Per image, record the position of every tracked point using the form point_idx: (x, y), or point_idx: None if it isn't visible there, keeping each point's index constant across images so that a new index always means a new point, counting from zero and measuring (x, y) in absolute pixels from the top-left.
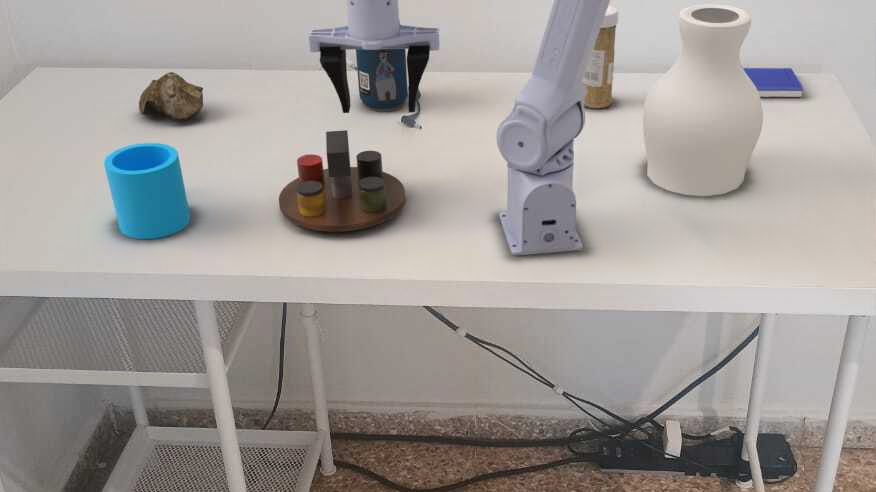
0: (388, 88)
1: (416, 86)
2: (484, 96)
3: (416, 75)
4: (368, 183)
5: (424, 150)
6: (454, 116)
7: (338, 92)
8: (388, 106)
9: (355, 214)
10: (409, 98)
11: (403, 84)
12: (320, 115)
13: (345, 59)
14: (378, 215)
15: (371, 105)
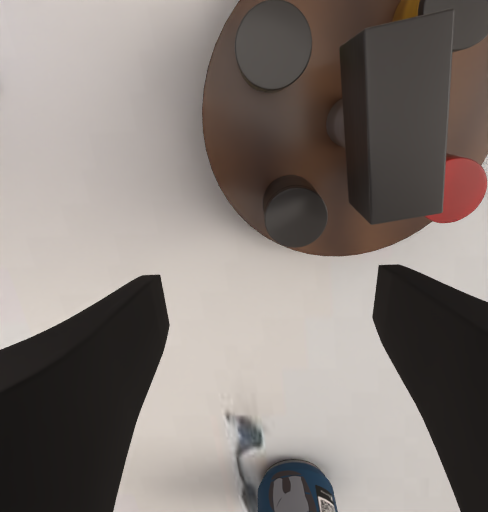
0: (285, 498)
1: (69, 322)
2: (149, 494)
3: (17, 352)
4: (282, 37)
5: (209, 350)
6: (181, 446)
7: (463, 295)
8: (284, 466)
9: (311, 6)
10: (132, 294)
11: (261, 509)
12: (391, 449)
13: (472, 506)
14: (251, 2)
15: (311, 468)
